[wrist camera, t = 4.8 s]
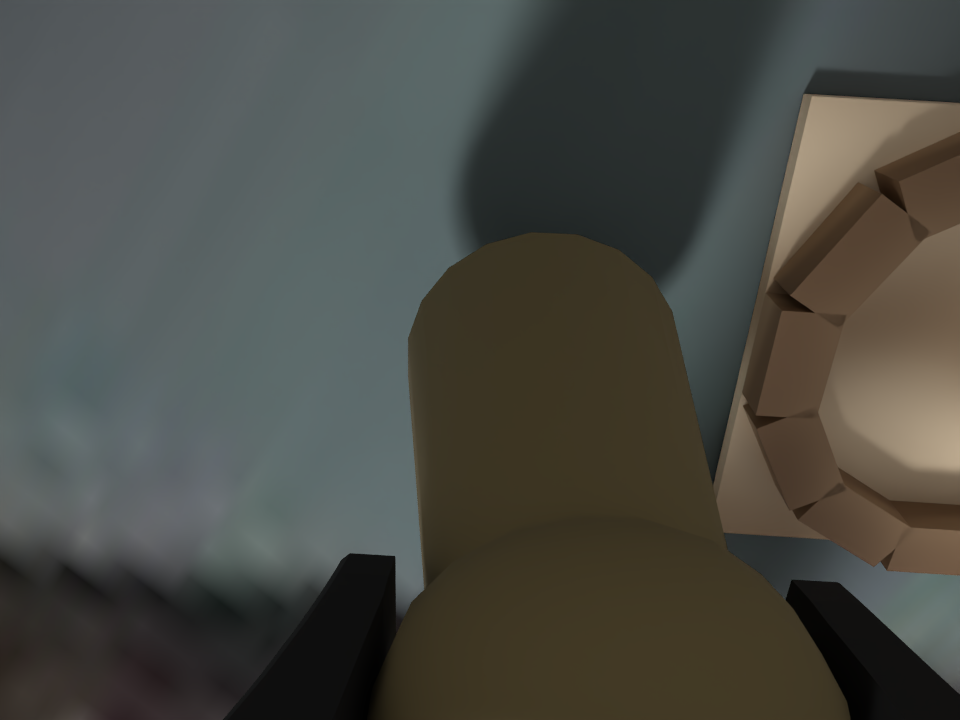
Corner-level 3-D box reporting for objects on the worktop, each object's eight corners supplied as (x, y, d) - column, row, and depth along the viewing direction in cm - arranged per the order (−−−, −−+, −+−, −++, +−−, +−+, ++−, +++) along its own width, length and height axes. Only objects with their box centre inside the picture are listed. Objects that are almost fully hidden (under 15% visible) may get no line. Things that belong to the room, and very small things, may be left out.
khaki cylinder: (560, 169, 14) (719, 562, 5) (732, 371, 16) (1097, 940, 7) (349, 355, 16) (148, 912, 7) (527, 514, 18) (578, 1124, 9)
